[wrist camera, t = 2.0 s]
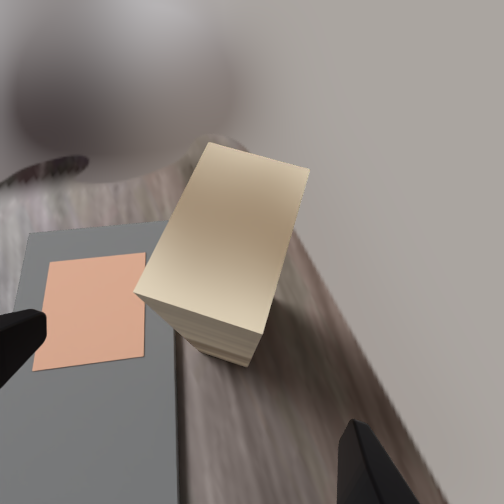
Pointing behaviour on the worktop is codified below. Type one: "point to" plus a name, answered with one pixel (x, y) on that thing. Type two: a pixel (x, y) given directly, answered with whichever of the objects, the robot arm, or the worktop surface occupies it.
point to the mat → (91, 377)
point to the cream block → (224, 251)
